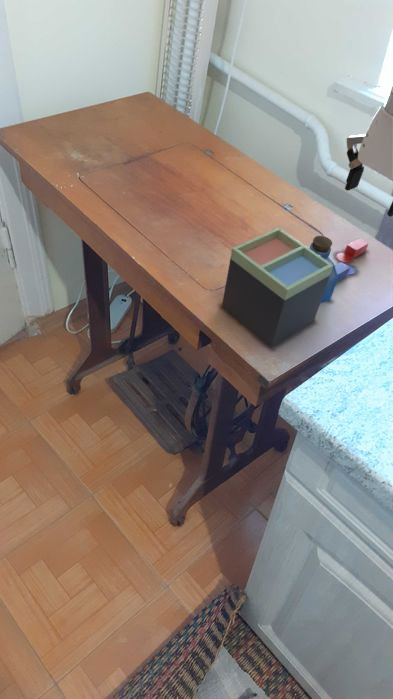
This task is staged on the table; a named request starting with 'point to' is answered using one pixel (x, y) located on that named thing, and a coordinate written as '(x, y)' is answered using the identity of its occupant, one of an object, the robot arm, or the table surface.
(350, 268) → the blue block
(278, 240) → the organiser
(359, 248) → the red block with cylinder
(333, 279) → the perfume bottle
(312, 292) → the riser
